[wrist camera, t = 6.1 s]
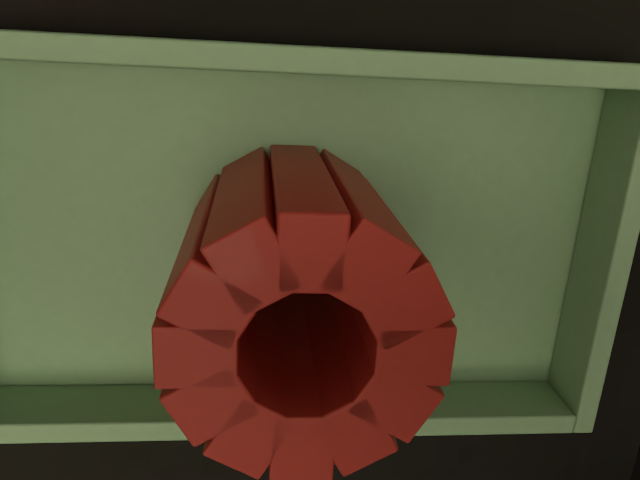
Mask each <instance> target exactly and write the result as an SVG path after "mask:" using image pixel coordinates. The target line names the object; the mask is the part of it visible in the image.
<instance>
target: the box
mask: <svg viewBox="0 0 640 480" xmlns="http://www.w3.org/2000/svg"><path fill="white" fill-rule="evenodd" d="M271 145H301V146H315V147H316V149H317V151H318V153H319V154H320V153H321V151H322V150H323V149H326V150H327V151H329V152H330V153H332V154H334V155H335V156H337V157H338V158H340V159H341V160H343V161H345V162H346V163H348V164H349V165H351V166H353V167H354V168H356V169H357V170H359V171H360V172H361V173H362V175H363V176H364V177H365V178H366V179H367V180H368V181H369V183H370V184H371V185H372V187H373V188H374V189H375V190H376V192H377V193H378V194H379V196H380V197H381V198H382V200H383V201H384V202H385V204H386V205H387V206H388V208H389V209H390V210H391V211H392V213H393V214H394V215H395V217H396V218H397V219H398V221H399V222H400V223H401V225H402V226H403V227H404V229H405V230H406V231H407V232H408V234H409V235H410V236H411V238H412V239H413V240H414V242H415V243H416V244H417V246H418V247H419V248H420V249H421V251H422V252H423V253H424V255H425V256H426V257H427V259H428V260H429V261H430V263H431V265H432V267H433V269H434V271H435V273H436V275H437V277H438V279H439V281H440V283H441V286H442V288H443V290H444V292H445V294H446V296H447V298H448V300H449V302H450V304H451V306H452V309H453V311H454V313H455V318H453V319H451V320H452V321H453V322H454V324H455V325H456V327H457V335H456V342H455V349H454V356H453V364H452V371H451V378H450V384H449V386H440V387H441V389H442V391H443V393H444V395H445V397H444V399H443V400H442V401H441V402H440V404H439V405H438V406H437V407H436V409H435V410H434V411H433V413H432V414H431V415H430V416H429V418H428V419H427V420H426V422H425V423H424V424H423V425H422V427H421V428H420V429H419V430H418V432H417V433H416V434H415V436H433V435H487V434H540V433H572V432H574V433H591V432H592V431H593V427H594V423H595V418H596V414H597V410H598V406H599V401H600V397H601V393H602V389H603V384H604V380H605V376H606V372H607V367H608V363H609V359H610V355H611V350H612V346H613V342H614V337H615V333H616V329H617V325H618V320H619V316H620V312H621V308H622V303H623V299H624V295H625V291H626V286H627V282H628V278H629V274H630V269H631V265H632V261H633V257H634V252H635V248H636V244H637V240H638V235H639V231H640V63H627V62H609V61H590V60H572V59H553V58H534V57H515V56H497V55H478V54H459V53H441V52H422V51H403V50H384V49H366V48H347V47H328V46H309V45H291V44H272V43H253V42H235V41H216V40H197V39H178V38H160V37H141V36H122V35H104V34H85V33H66V32H47V31H29V30H10V29H0V444H9V443H62V442H115V441H168V440H188V439H187V438H186V436H185V435H184V433H183V432H182V431H181V429H180V428H179V427H178V425H177V424H176V423H175V421H174V420H173V418H172V417H171V416H170V414H169V413H168V412H167V410H166V409H165V408H164V406H163V405H162V404H161V402H160V401H159V396H160V393H161V389H155V388H154V377H153V354H152V332H151V328H152V325H153V323H154V320H155V317H156V311H157V308H158V306H159V303H160V300H161V298H162V295H163V292H164V290H165V287H166V284H167V282H168V279H169V276H170V274H171V271H172V268H173V266H174V263H175V260H176V258H177V255H178V252H179V250H180V247H181V244H182V242H183V239H184V236H185V234H186V231H187V228H188V226H189V223H190V220H191V218H192V215H193V213H194V210H195V208H196V206H197V205H198V203H199V201H200V200H201V198H202V196H203V195H204V193H205V191H206V190H207V188H208V186H209V185H210V183H211V181H212V180H213V178H214V176H215V175H216V174H219V175H221V173H222V169H223V167H224V166H226V165H228V164H230V163H232V162H234V161H235V160H237V159H239V158H241V157H243V156H245V155H247V154H249V153H250V152H252V151H254V150H256V149H258V148H260V147H263V148H264V149H265V151H266V153H267V155H268V157H269V159H270V146H271Z"/></svg>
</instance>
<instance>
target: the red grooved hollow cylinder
mask: <svg viewBox="0 0 640 480" xmlns="http://www.w3.org/2000/svg"><path fill="white" fill-rule="evenodd" d="M453 318H455V313H454V311H453V309H452V306H451V304H450V302H449V300H448V298H447V296H446V294H445V292H444V290H443V288H442V286H441V283H440V281H439V279H438V277H437V275H436V273H435V271H434V269H433V267H432V265H431V263H430V261H429V260H428V259H427V257H426V256H425V255H424V253H423V252H422V251H421V249H420V248H419V247H418V246H417V244H416V243H415V242H414V240H413V239H412V238H411V236H410V235H409V234H408V232H407V231H406V230H405V229H404V227H403V226H402V225H401V223H400V222H399V221H398V219H397V218H396V217H395V215H394V214H393V213H392V211H391V210H390V209H389V208H388V206H387V205H386V204H385V202H384V201H383V200H382V198H381V197H380V196H379V194H378V193H377V192H376V190H375V189H374V188H373V187H372V185H371V184H370V183H369V181H368V180H367V179H366V178H365V177H364V176H363V175H362V173H361V172H360V171H359V170H357V169H356V168H354V167H353V166H351V165H349V164H348V163H346V162H345V161H343V160H341V159H340V158H338V157H337V156H335V155H334V154H332V153H330V152H329V151H327V150H326V149H323V150H322V151H321V153H320V154H319V153H318V151H317V149H316V147H315V146H301V145H271V146H270V159H269V157H268V155H267V153H266V151H265V149H264V148H263V147H260V148H258V149H256V150H254V151H252V152H250V153H249V154H247V155H245V156H243V157H241V158H239V159H237V160H235V161H234V162H232V163H230V164H228V165H226V166H224V167H223V169H222V173H221V175H219V174H216V175H215V176H214V178H213V180H212V181H211V183H210V185H209V186H208V188H207V190H206V191H205V193H204V195H203V196H202V198H201V200H200V201H199V203H198V205H197V206H196V208H195V210H194V213H193V215H192V218H191V220H190V223H189V226H188V228H187V231H186V234H185V236H184V239H183V242H182V244H181V247H180V250H179V252H178V255H177V258H176V260H175V263H174V266H173V268H172V271H171V274H170V276H169V279H168V282H167V284H166V287H165V290H164V292H163V295H162V298H161V300H160V303H159V306H158V308H157V311H156V317H155V320H154V323H153V325H152V328H151V332H152V354H153V377H154V388H155V389H161V393H160V396H159V401H160V402H161V404H162V405H163V406H164V408H165V409H166V410H167V412H168V413H169V414H170V416H171V417H172V418H173V420H174V421H175V423H176V424H177V425H178V427H179V428H180V429H181V431H182V432H183V433H184V435H185V436H186V438H187V439H188V440H189V442H190V443H191V444H192V446H193V447H196V446H198V445H200V444H202V443H204V448H203V455H204V456H206V457H208V458H211V459H213V460H215V461H217V462H220V463H222V464H224V465H226V466H229V467H231V468H233V469H235V470H237V471H240V472H242V473H244V474H246V475H249V476H251V477H253V478H255V479H260V477H261V476H262V474H263V473H264V472H265V470H266V469H267V468H268V466H269V480H332V479H333V470H334V463H335V465H336V466H337V468H338V470H339V471H340V473H341V474H342V475H343V476H347V475H349V474H351V473H353V472H355V471H357V470H359V469H362V468H364V467H366V466H368V465H370V464H372V463H374V462H376V461H378V460H380V459H382V458H384V457H386V456H388V455H390V454H392V453H394V452H397V451H398V445H397V442H396V439H395V437H396V438H398V439H400V440H402V441H404V442H406V443H409V442H410V441H411V439H412V438H413V437H414V436H415V434H416V433H417V432H418V430H419V429H420V428H421V427H422V425H423V424H424V423H425V422H426V420H427V419H428V418H429V416H430V415H431V414H432V413H433V411H434V410H435V409H436V407H437V406H438V405H439V404H440V402H441V401H442V400H443V399H444V397H445V395H444V393H443V391H442V389H441V387H440V386H449V384H450V378H451V371H452V364H453V356H454V349H455V342H456V335H457V327H456V325H455V324H454V322H453V321H452V320H451V319H453Z"/></svg>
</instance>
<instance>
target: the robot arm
mask: <svg viewBox="0 0 640 480" xmlns="http://www.w3.org/2000/svg"><path fill="white" fill-rule="evenodd" d="M631 480H640V447H639V451H638V455H637V458H636V462H635V466H634V469H633V473H632V477H631Z"/></svg>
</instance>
